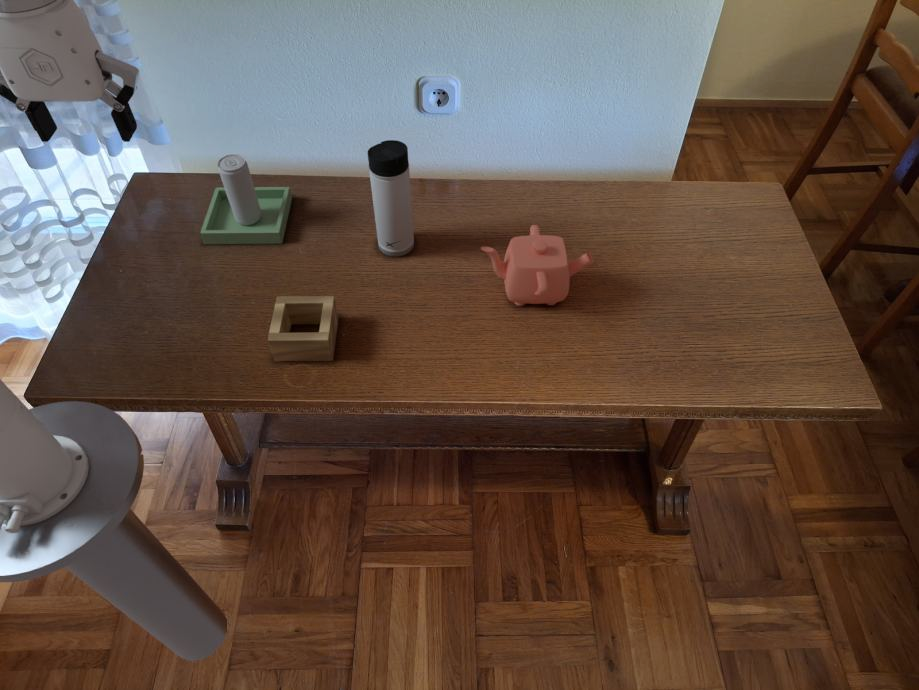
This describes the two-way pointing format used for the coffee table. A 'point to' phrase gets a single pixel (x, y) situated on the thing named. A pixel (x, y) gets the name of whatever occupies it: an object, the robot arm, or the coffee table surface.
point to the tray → (266, 231)
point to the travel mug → (391, 197)
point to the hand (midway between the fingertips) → (90, 135)
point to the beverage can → (239, 189)
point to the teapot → (536, 268)
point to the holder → (303, 344)
